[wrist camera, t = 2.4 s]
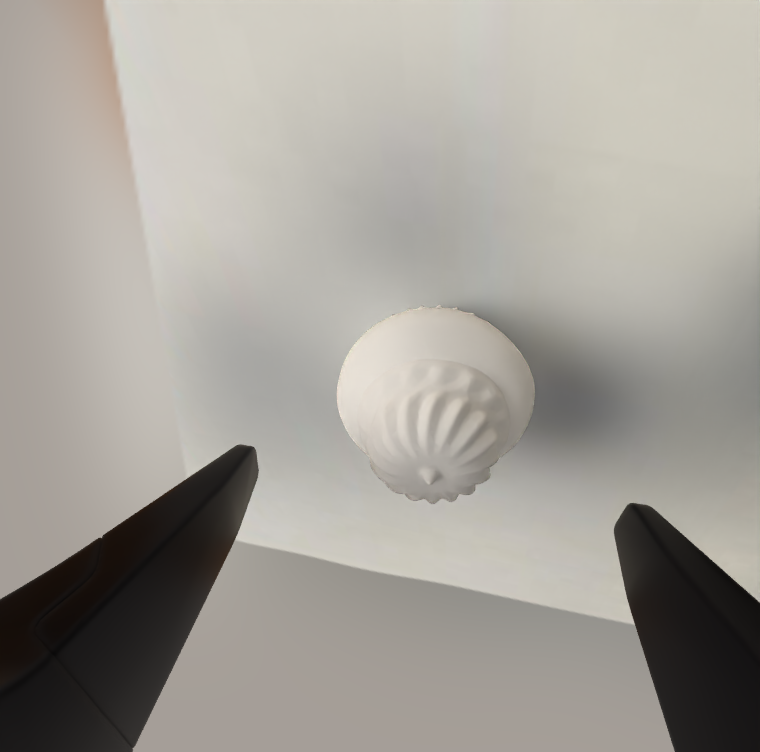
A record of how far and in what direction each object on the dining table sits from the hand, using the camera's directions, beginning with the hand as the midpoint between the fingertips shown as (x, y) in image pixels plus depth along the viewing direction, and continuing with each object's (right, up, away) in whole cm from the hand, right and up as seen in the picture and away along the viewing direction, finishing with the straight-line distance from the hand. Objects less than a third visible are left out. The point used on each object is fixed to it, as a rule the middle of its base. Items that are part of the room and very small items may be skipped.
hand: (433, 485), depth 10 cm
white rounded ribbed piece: (+1, +4, +6) cm, 7 cm away
